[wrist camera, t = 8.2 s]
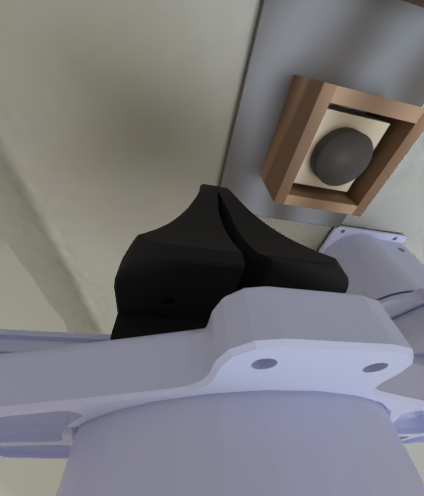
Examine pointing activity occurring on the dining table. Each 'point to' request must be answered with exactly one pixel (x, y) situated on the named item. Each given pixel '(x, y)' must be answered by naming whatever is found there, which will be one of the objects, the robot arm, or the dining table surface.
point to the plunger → (340, 149)
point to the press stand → (324, 100)
